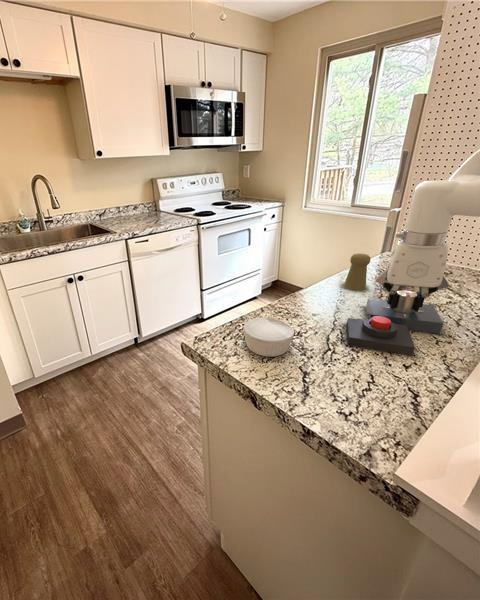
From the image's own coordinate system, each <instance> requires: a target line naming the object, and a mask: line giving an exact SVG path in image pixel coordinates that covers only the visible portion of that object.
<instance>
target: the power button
mask: <svg viewBox="0 0 480 600" xmlns="http://www.w3.org/2000/svg"><path fill="white" fill-rule="evenodd" d="M390 323H391V320H390V319H388V318H386V317H382V316H374V317H372V320H371V324H370V325H371V326H373V327H375V328H378V329H389V327H390Z"/></svg>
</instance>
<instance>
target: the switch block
mask: <svg viewBox="0 0 480 600" xmlns="http://www.w3.org/2000/svg"><path fill="white" fill-rule="evenodd" d="M371 320H372V318H368V317H366V319H360V318H353V317H347V320H346V327H345V328H346V342H347V346H351V347H357V348H364V349H370V350H375V351H380V352H381V351H382V352H386V353H387V352H388V353H393V354H401V355H406V356H413V354H414V352H415V349H416V346H415V344H414V342H413V339H412V336H411V333H410V330H408V328H407V325H400V324H394V323H392V322H391V323H390V327H389V329H378V328H375V327H373V326H371V325H370V324H371Z"/></svg>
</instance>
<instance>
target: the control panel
mask: <svg viewBox="0 0 480 600" xmlns="http://www.w3.org/2000/svg"><path fill="white" fill-rule="evenodd" d="M387 300H388V299H378V298H367V300H366V304H365V311H366V312H365V313H366V318H372V317H374V316H382V317H386V318H388V319H390V320H391V322H392V323H394V324H400V325H407V328H408V331H414V332H422V333H429V334H435V335H437V334H438V335H440V334H441V332H442V329H443V326H444V321H443V319H442V317H441V316H440V314H439V313H438V311H437V309H436V307H435V305H434V304H427V303H426V304H425V303H423V306H422V308H421V307H419V310H418V312H416V311H414V310H413V311H412V312H411V313H402V312H398V311H395V310H394V309H391V308H390V305H389V304H387Z"/></svg>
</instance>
